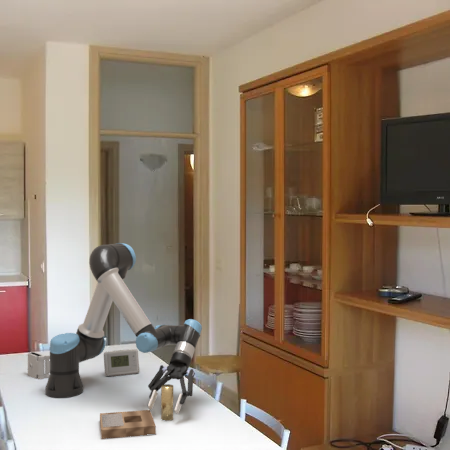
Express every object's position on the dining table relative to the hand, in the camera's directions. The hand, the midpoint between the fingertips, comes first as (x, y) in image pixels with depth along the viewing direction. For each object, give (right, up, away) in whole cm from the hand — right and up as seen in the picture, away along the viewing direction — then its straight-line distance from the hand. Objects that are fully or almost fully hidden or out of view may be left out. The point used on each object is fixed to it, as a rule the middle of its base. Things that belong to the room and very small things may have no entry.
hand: (162, 409), depth 214 cm
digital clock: (-25, -2, +59) cm, 64 cm away
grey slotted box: (-61, -2, +53) cm, 81 cm away
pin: (+1, -4, +3) cm, 5 cm away
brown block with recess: (-12, -4, -7) cm, 14 cm away
